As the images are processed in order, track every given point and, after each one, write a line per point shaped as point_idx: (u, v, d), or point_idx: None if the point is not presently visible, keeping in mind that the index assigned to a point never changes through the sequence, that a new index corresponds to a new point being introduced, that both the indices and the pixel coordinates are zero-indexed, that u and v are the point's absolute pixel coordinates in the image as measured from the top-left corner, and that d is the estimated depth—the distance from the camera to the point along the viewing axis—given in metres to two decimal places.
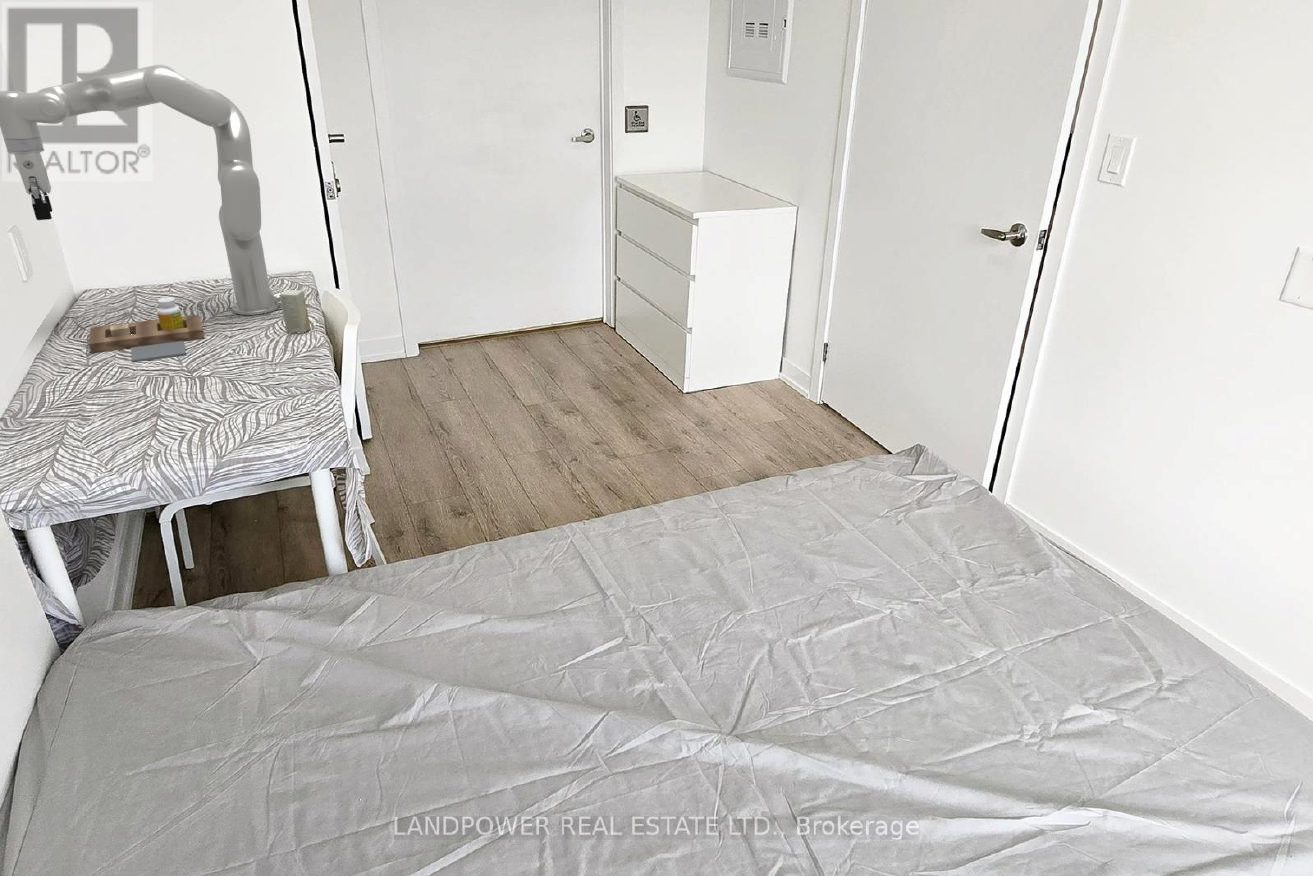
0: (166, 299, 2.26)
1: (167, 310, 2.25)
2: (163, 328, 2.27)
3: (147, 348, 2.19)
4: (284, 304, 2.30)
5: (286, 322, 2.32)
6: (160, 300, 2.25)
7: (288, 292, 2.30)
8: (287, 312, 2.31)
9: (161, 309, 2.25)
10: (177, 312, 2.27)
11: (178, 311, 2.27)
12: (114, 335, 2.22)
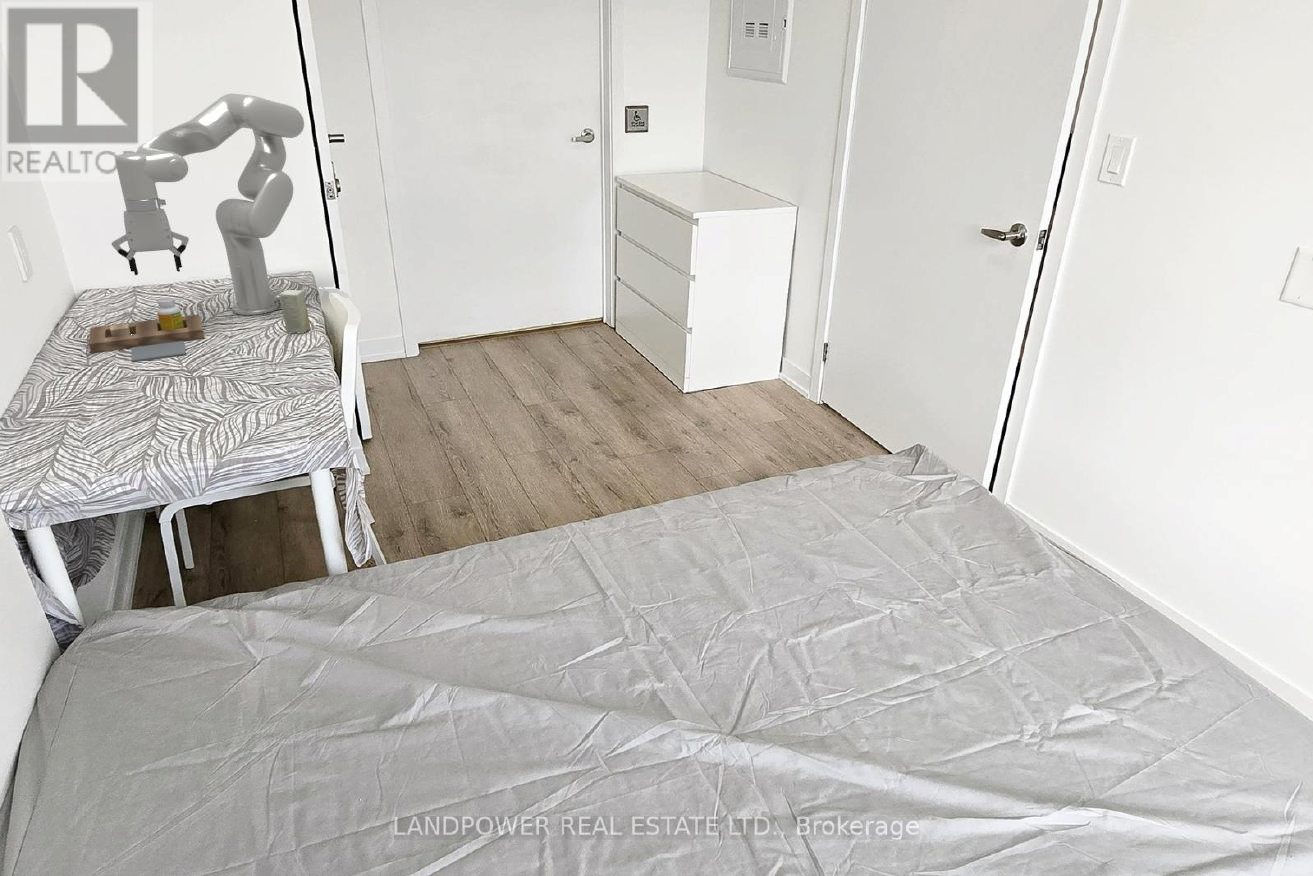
0: (166, 299, 2.26)
1: (167, 310, 2.25)
2: (163, 328, 2.27)
3: (147, 348, 2.19)
4: (284, 304, 2.30)
5: (286, 322, 2.32)
6: (160, 300, 2.25)
7: (288, 292, 2.30)
8: (287, 312, 2.31)
9: (161, 309, 2.25)
10: (177, 312, 2.27)
11: (178, 311, 2.27)
12: (114, 335, 2.22)
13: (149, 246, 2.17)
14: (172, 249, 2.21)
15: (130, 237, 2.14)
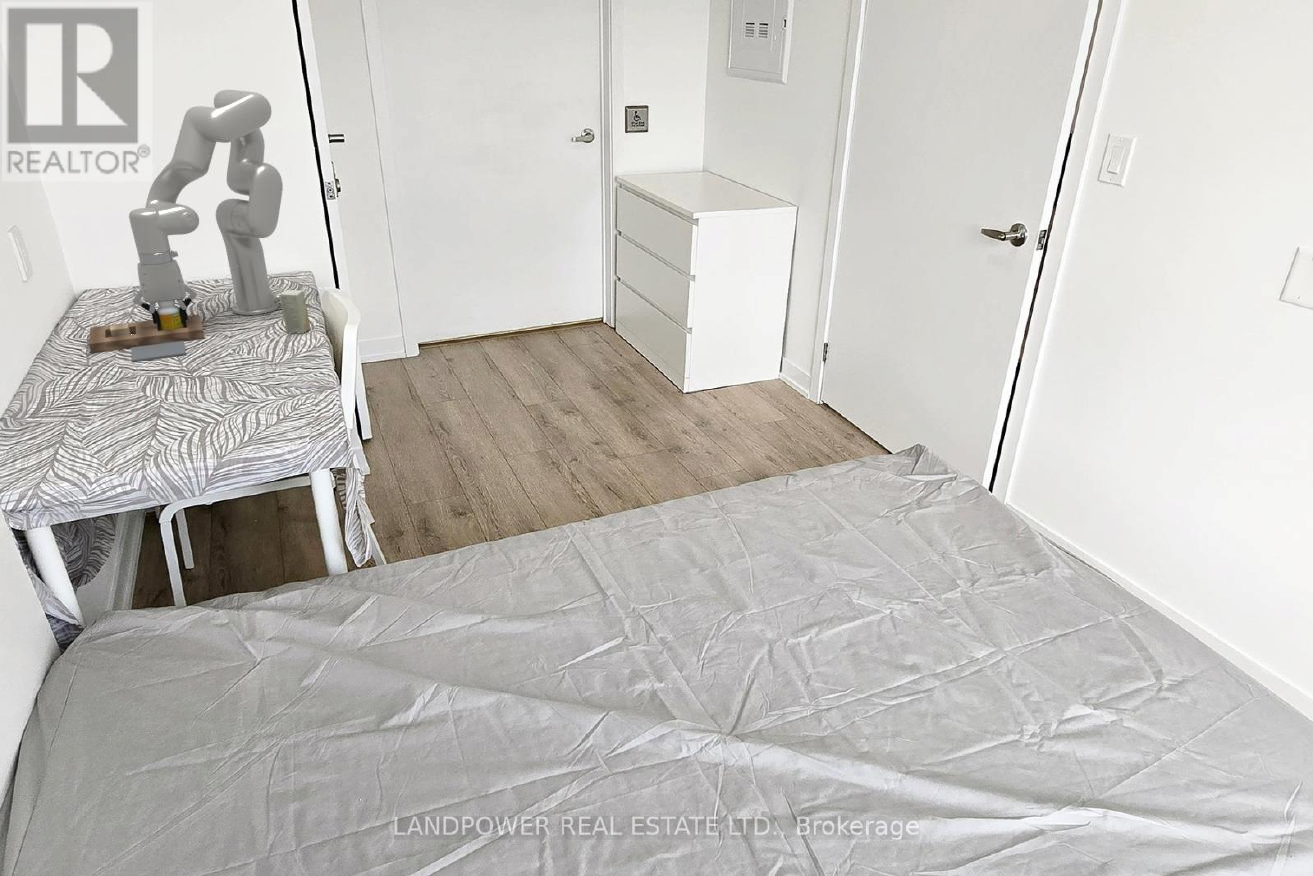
0: None
1: (167, 310, 2.25)
2: (163, 328, 2.27)
3: (147, 348, 2.19)
4: (284, 304, 2.30)
5: (286, 322, 2.32)
6: None
7: (288, 292, 2.30)
8: (287, 312, 2.31)
9: (161, 309, 2.25)
10: (177, 312, 2.27)
11: (178, 311, 2.27)
12: (114, 335, 2.22)
13: (162, 297, 2.23)
14: (180, 302, 2.27)
15: (144, 289, 2.21)
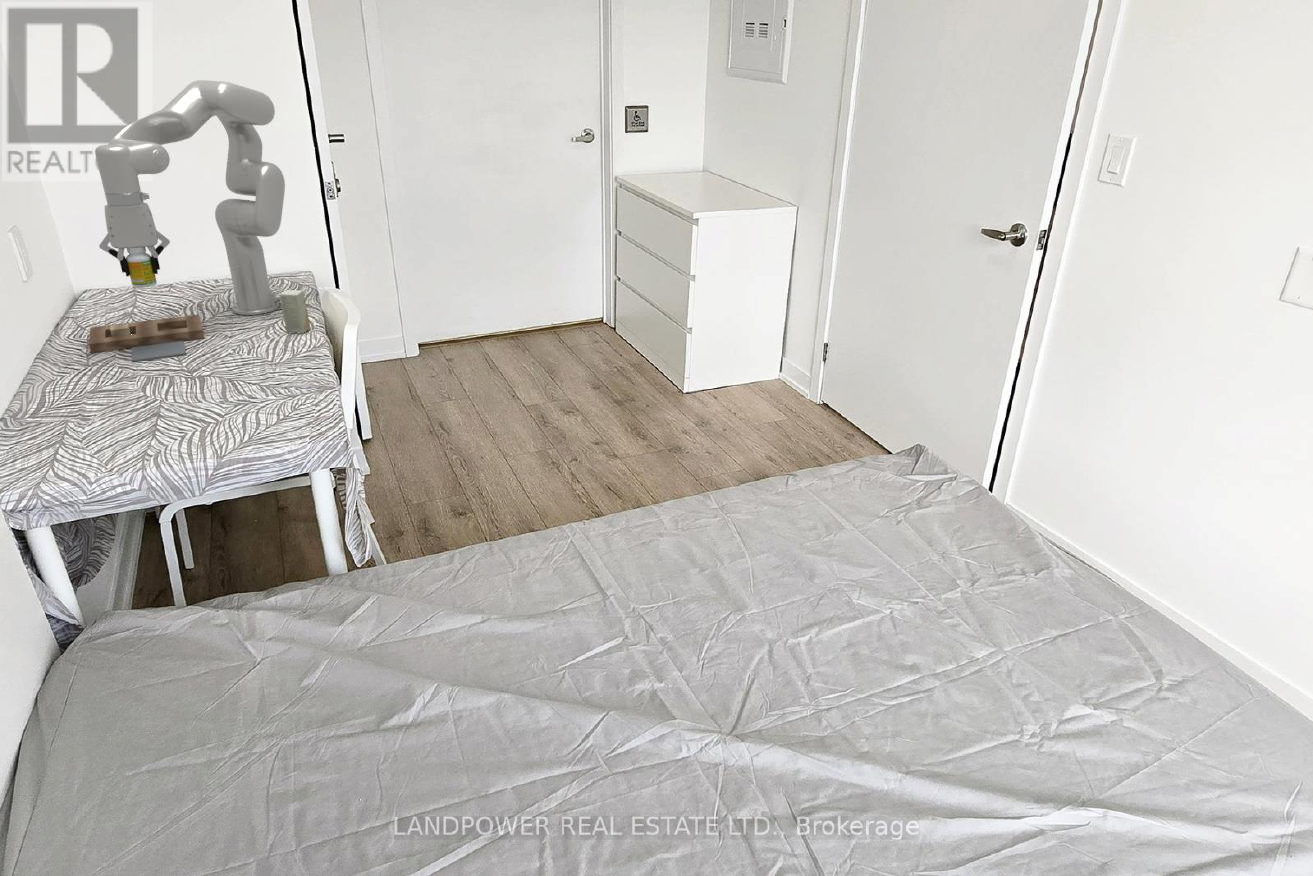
0: None
1: (137, 257, 2.08)
2: (132, 277, 2.09)
3: (147, 348, 2.19)
4: (284, 304, 2.30)
5: (286, 322, 2.32)
6: None
7: (288, 292, 2.30)
8: (287, 312, 2.31)
9: (130, 256, 2.08)
10: (147, 260, 2.09)
11: (149, 259, 2.10)
12: (114, 335, 2.22)
13: (132, 242, 2.06)
14: (151, 249, 2.09)
15: (111, 233, 2.03)
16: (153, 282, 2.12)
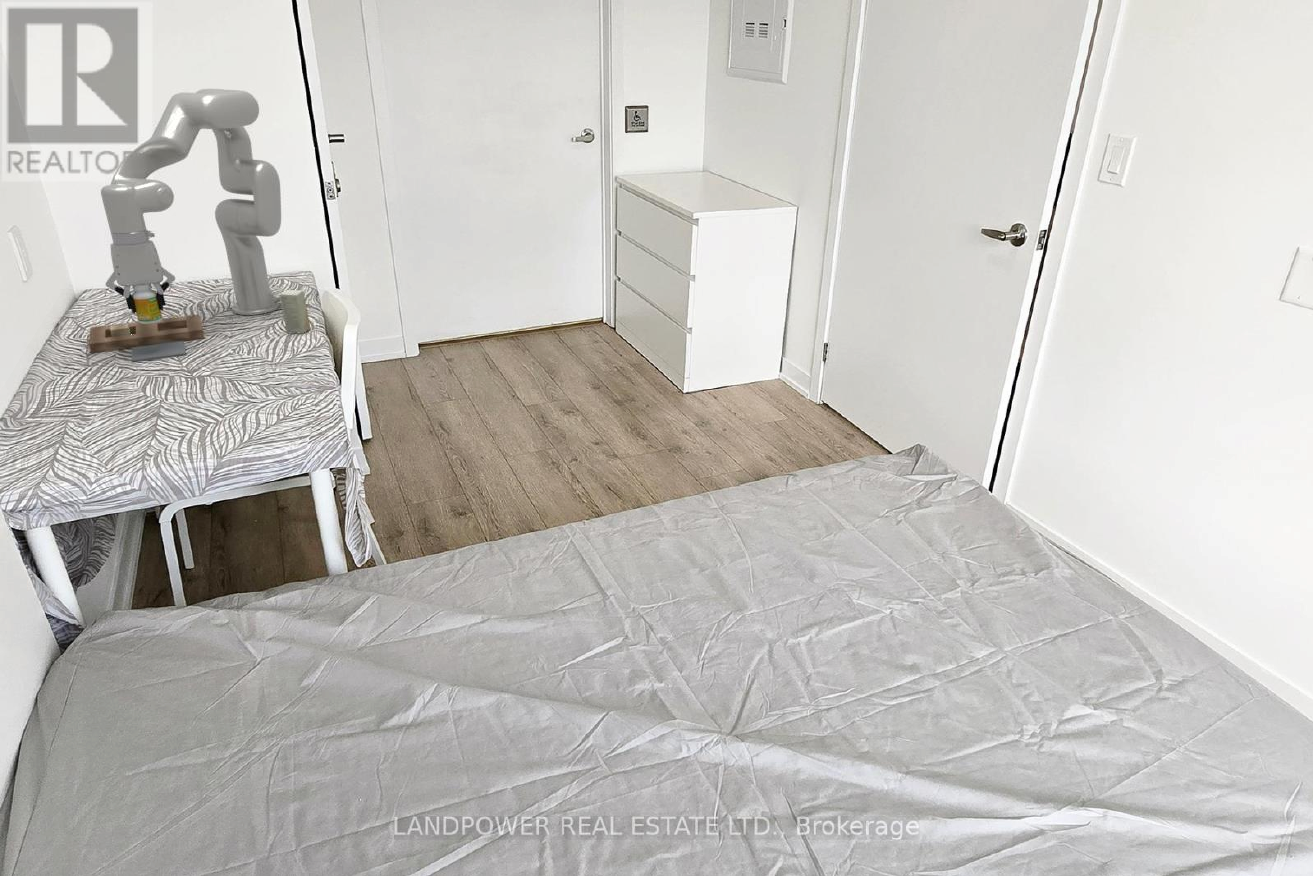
0: None
1: (143, 294, 2.09)
2: (138, 314, 2.11)
3: (147, 348, 2.19)
4: (284, 304, 2.30)
5: (286, 322, 2.32)
6: None
7: (288, 292, 2.30)
8: (287, 312, 2.31)
9: (136, 293, 2.09)
10: (153, 297, 2.11)
11: (155, 296, 2.12)
12: (114, 335, 2.22)
13: (138, 280, 2.08)
14: (157, 286, 2.11)
15: (117, 271, 2.05)
16: (159, 318, 2.14)
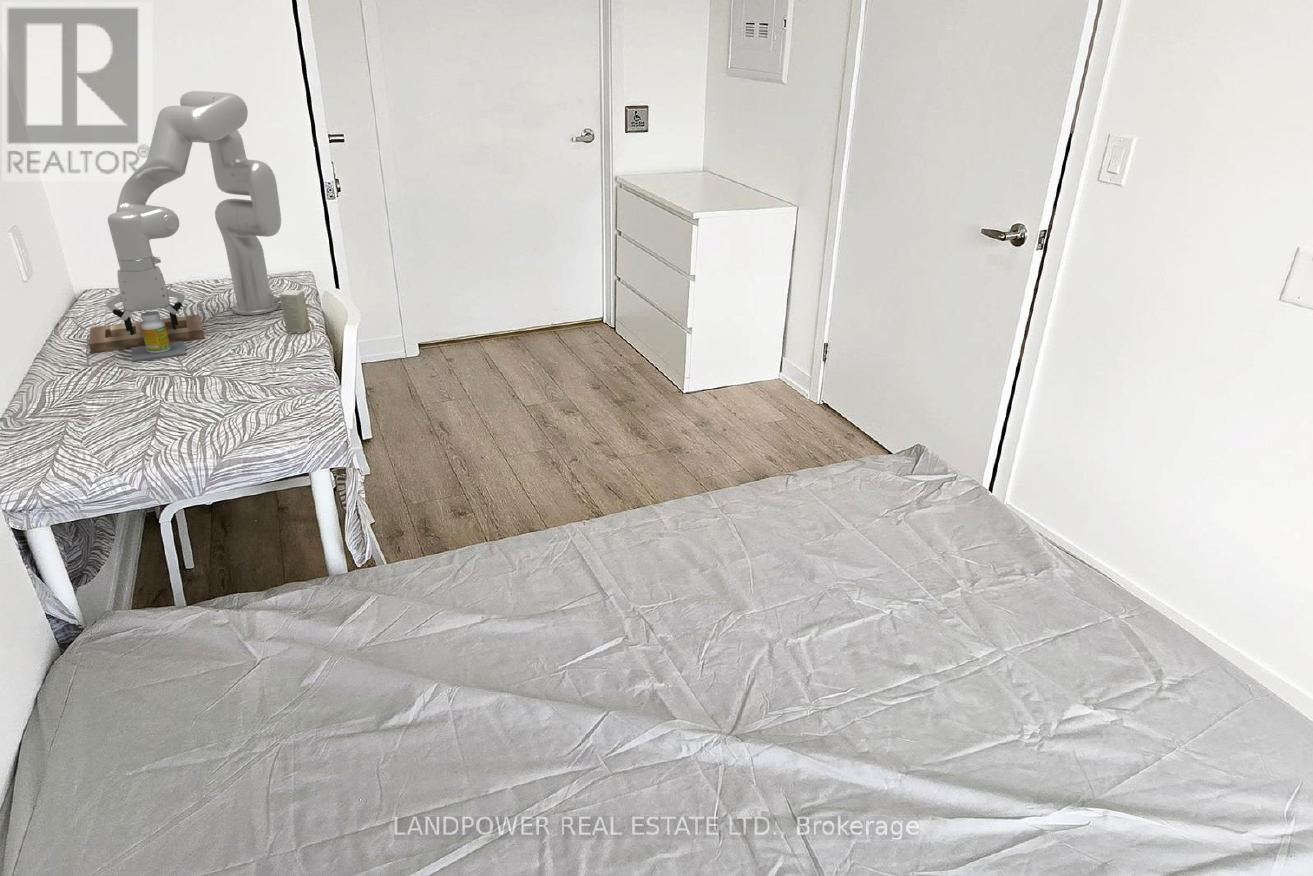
0: (150, 313, 2.14)
1: (152, 324, 2.13)
2: (147, 344, 2.15)
3: None
4: (284, 304, 2.30)
5: (286, 322, 2.32)
6: (144, 314, 2.13)
7: (288, 292, 2.30)
8: (287, 312, 2.31)
9: (145, 324, 2.13)
10: (162, 327, 2.15)
11: (163, 326, 2.15)
12: (114, 335, 2.22)
13: (144, 305, 2.11)
14: (168, 307, 2.14)
15: (124, 297, 2.08)
16: (167, 348, 2.18)
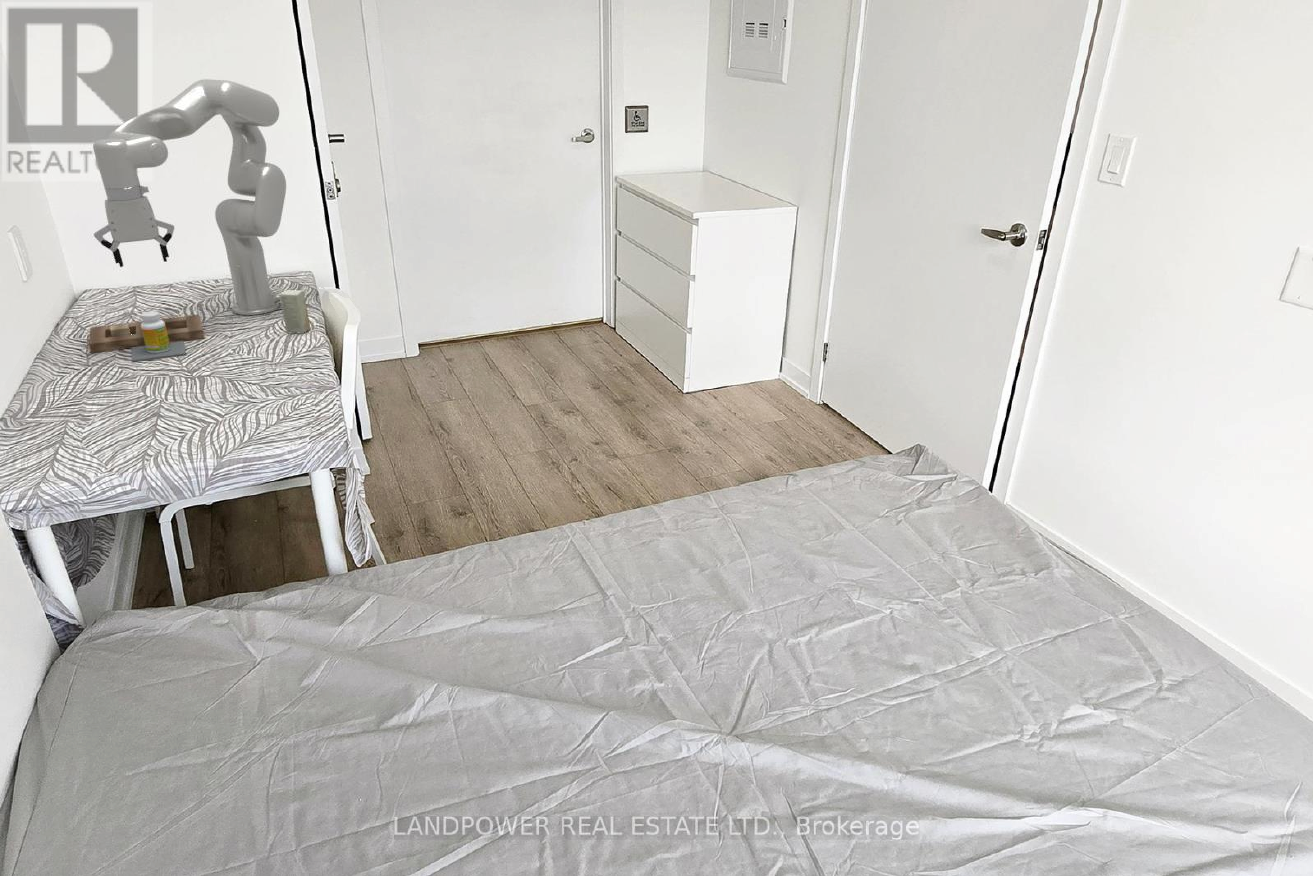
0: (150, 313, 2.14)
1: (152, 324, 2.13)
2: (147, 344, 2.15)
3: None
4: (284, 304, 2.30)
5: (286, 322, 2.32)
6: (144, 314, 2.13)
7: (288, 292, 2.30)
8: (287, 312, 2.31)
9: (145, 324, 2.13)
10: (162, 327, 2.15)
11: (163, 326, 2.15)
12: (114, 335, 2.22)
13: (133, 236, 2.08)
14: (158, 238, 2.11)
15: (113, 227, 2.05)
16: (167, 348, 2.18)
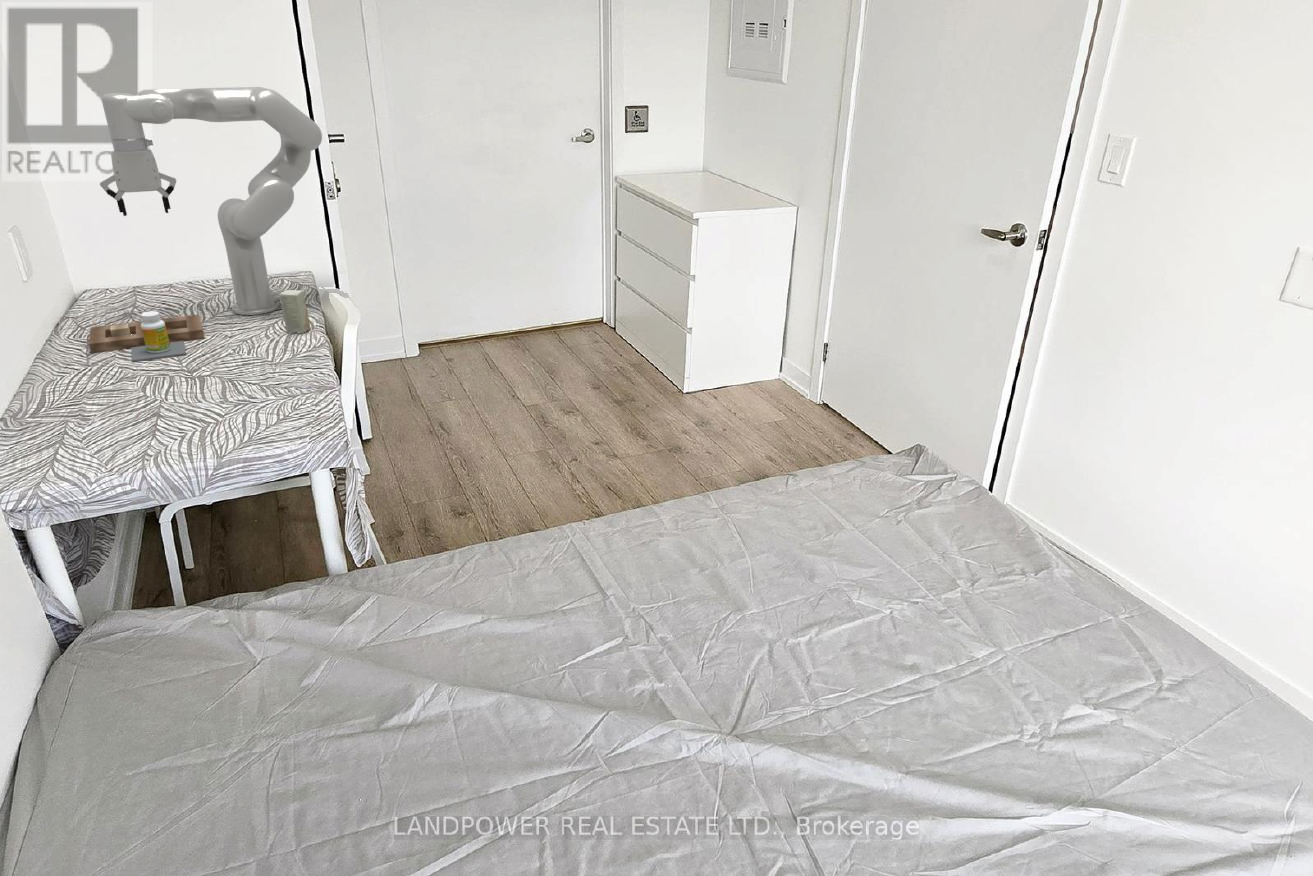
0: (150, 313, 2.14)
1: (152, 324, 2.13)
2: (147, 344, 2.15)
3: None
4: (284, 304, 2.30)
5: (286, 322, 2.32)
6: (144, 314, 2.13)
7: (288, 292, 2.30)
8: (287, 312, 2.31)
9: (145, 324, 2.13)
10: (162, 327, 2.15)
11: (163, 326, 2.15)
12: (114, 335, 2.22)
13: (137, 186, 2.19)
14: (160, 190, 2.23)
15: (118, 177, 2.17)
16: (167, 348, 2.18)
